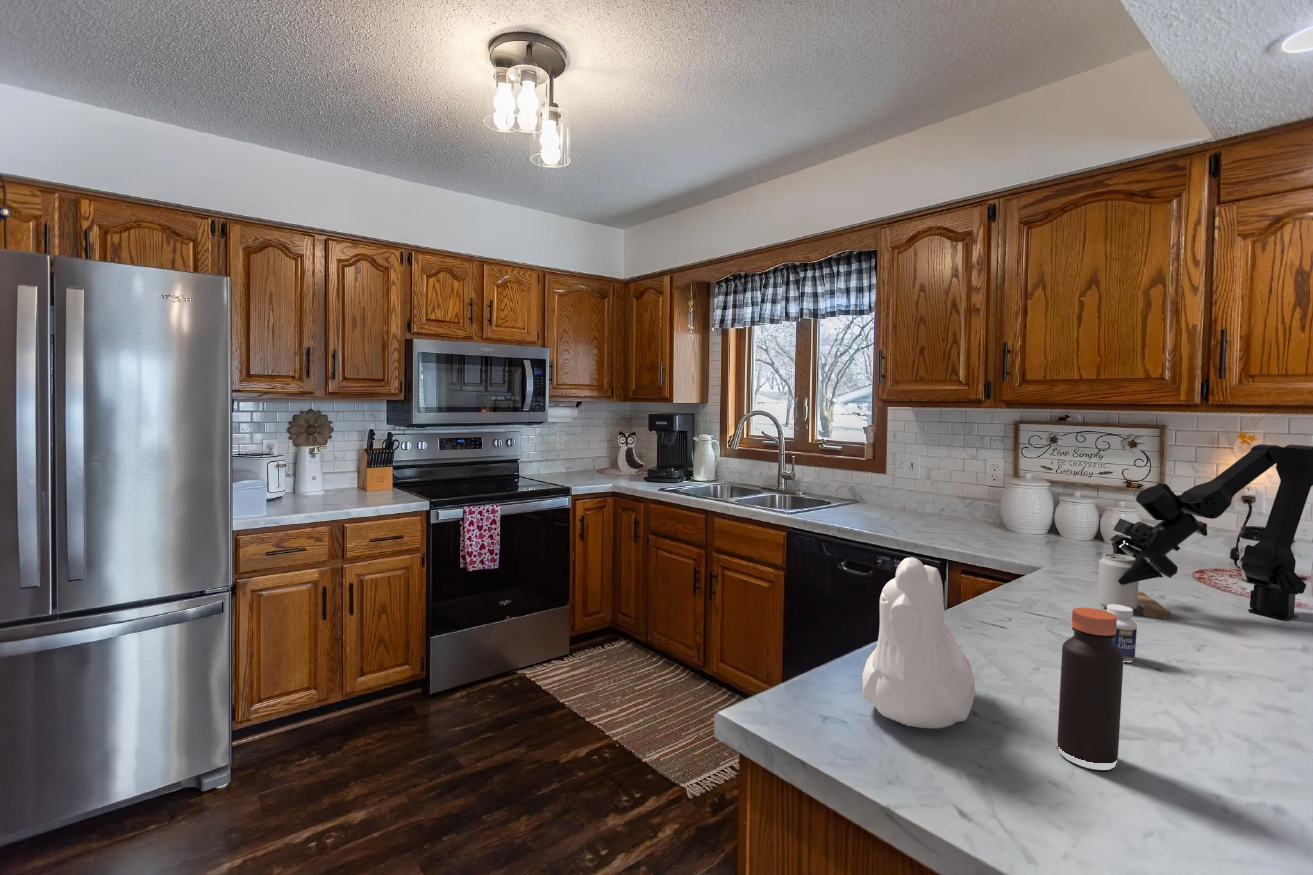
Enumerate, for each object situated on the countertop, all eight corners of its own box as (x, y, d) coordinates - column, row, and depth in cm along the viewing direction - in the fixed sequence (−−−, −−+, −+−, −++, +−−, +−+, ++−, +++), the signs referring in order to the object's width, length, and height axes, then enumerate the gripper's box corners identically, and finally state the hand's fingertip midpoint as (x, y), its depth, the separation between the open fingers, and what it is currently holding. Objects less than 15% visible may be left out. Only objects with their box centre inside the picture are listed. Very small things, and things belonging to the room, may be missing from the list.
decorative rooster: (945, 760, 85) (953, 578, 83) (838, 717, 96) (843, 556, 94) (1005, 699, 103) (1012, 547, 101) (909, 669, 114) (914, 532, 112)
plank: (1117, 595, 158) (1118, 589, 158) (1141, 597, 157) (1142, 591, 157) (1143, 615, 143) (1144, 609, 143) (1170, 618, 142) (1170, 611, 142)
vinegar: (1092, 744, 89) (1100, 604, 88) (1130, 772, 83) (1139, 622, 81) (1045, 744, 89) (1052, 604, 88) (1079, 772, 82) (1087, 622, 81)
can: (1123, 602, 151) (1126, 552, 150) (1144, 612, 143) (1147, 560, 143) (1090, 601, 151) (1092, 551, 151) (1109, 611, 144) (1112, 559, 143)
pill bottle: (1119, 665, 116) (1122, 613, 116) (1092, 653, 121) (1095, 603, 121) (1142, 662, 118) (1145, 610, 117) (1114, 651, 123) (1117, 601, 122)
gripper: (1121, 501, 154) (1068, 543, 157) (1163, 515, 136) (1103, 563, 139) (1156, 535, 153) (1102, 577, 156) (1204, 553, 135) (1142, 600, 138)
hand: (1111, 578), depth 147 cm, fingers closed on can, 7 cm apart
